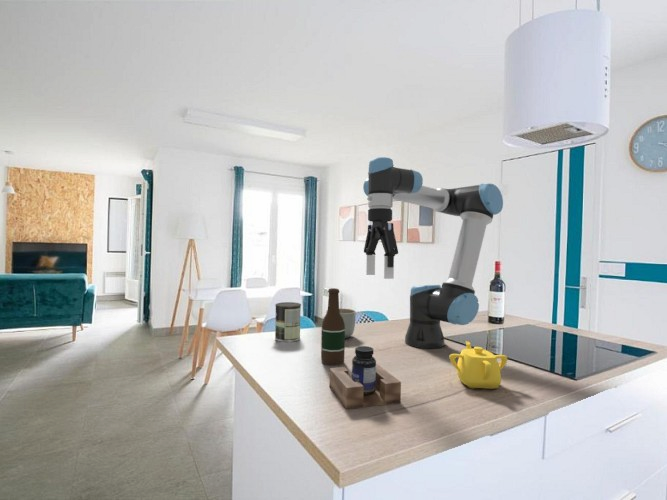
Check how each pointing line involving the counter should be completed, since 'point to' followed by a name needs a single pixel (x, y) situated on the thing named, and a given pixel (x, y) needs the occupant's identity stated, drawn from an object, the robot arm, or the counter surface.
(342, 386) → the socket
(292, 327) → the coffee can
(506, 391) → the counter surface
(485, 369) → the teapot
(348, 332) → the planter
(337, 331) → the beer bottle
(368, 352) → the pill bottle
